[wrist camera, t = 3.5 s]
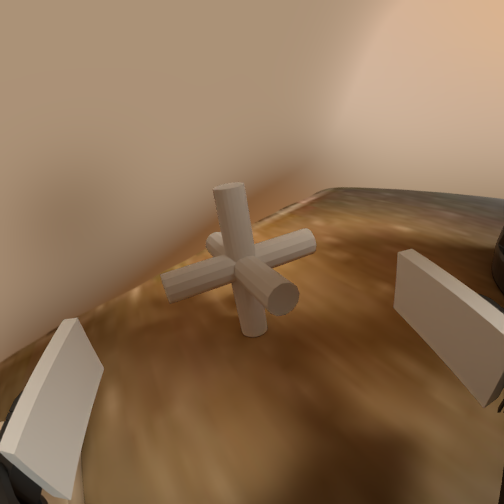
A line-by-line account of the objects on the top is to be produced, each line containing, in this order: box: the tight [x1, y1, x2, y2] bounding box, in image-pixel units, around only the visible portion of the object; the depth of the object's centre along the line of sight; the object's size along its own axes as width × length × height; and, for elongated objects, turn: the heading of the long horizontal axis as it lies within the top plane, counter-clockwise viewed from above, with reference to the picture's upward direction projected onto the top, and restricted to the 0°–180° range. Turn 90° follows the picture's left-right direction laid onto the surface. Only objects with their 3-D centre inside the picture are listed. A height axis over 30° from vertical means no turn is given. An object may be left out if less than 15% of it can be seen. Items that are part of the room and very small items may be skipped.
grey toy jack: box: [160, 182, 316, 337], centre depth 19 cm, size 10×10×10 cm
